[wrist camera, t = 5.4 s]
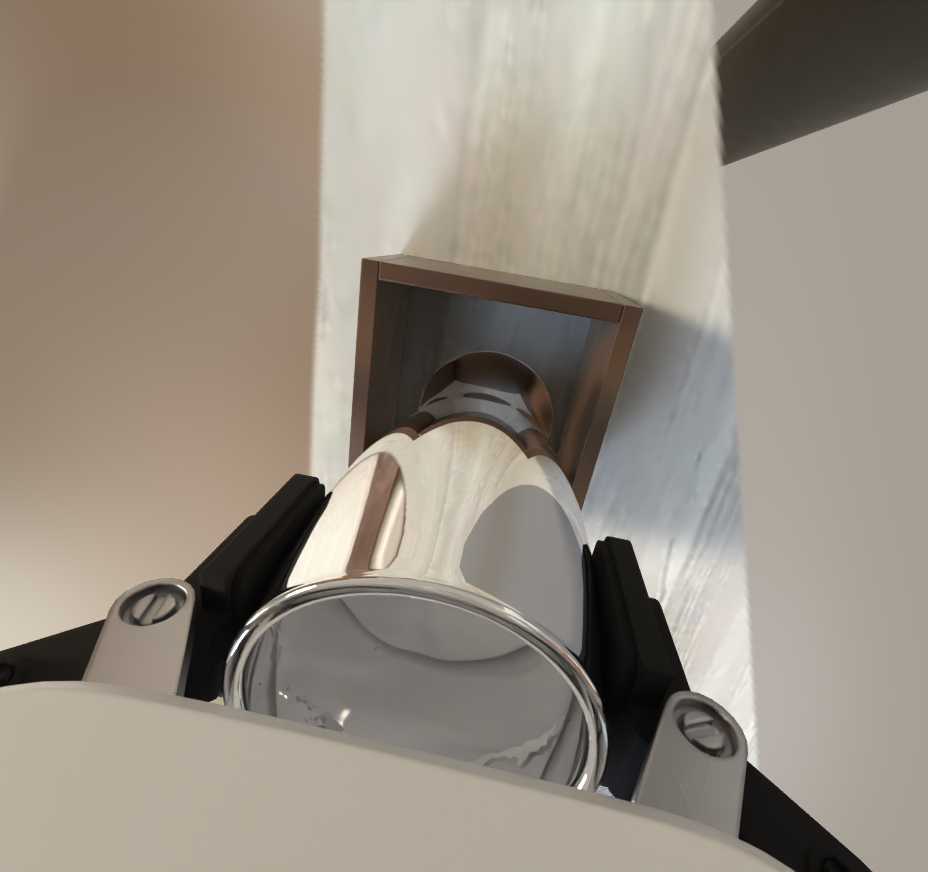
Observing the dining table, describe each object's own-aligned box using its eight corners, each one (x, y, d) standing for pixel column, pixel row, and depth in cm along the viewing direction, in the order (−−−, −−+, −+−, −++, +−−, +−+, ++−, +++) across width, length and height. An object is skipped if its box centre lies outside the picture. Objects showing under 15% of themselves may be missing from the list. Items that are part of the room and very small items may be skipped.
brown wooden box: (399, 253, 27) (361, 258, 20) (614, 291, 26) (643, 308, 20) (381, 446, 32) (345, 498, 25) (561, 481, 31) (571, 543, 25)
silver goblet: (389, 365, 21) (127, 610, 7) (540, 318, 19) (564, 522, 6) (440, 495, 23) (315, 862, 10) (579, 463, 22) (662, 852, 8)
